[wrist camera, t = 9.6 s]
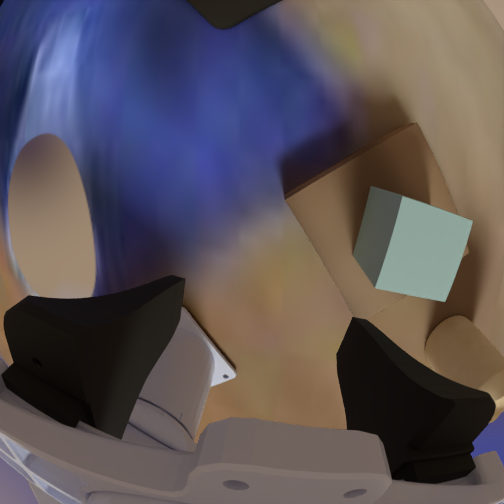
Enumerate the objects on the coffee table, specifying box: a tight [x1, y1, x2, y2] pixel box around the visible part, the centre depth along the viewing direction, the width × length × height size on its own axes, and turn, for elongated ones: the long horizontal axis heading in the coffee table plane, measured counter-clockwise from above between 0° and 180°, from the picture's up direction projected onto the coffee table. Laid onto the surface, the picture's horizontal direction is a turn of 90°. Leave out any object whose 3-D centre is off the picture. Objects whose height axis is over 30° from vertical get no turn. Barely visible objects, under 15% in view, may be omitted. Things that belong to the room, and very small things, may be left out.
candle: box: [425, 315, 504, 423], centre depth 17 cm, size 6×6×10 cm
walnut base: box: [284, 122, 469, 319], centre depth 18 cm, size 10×10×3 cm
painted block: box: [352, 186, 473, 302], centre depth 15 cm, size 4×4×5 cm
